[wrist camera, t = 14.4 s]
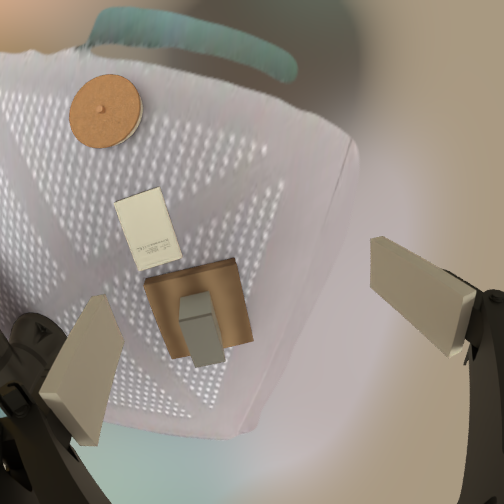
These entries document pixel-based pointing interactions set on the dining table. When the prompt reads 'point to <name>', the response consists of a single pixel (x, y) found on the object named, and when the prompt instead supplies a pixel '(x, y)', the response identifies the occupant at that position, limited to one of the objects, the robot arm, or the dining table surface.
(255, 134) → the dining table surface
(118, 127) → the lidded jar
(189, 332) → the block
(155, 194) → the external hard drive
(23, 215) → the dining table surface
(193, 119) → the dining table surface
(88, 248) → the dining table surface
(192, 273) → the walnut stand
